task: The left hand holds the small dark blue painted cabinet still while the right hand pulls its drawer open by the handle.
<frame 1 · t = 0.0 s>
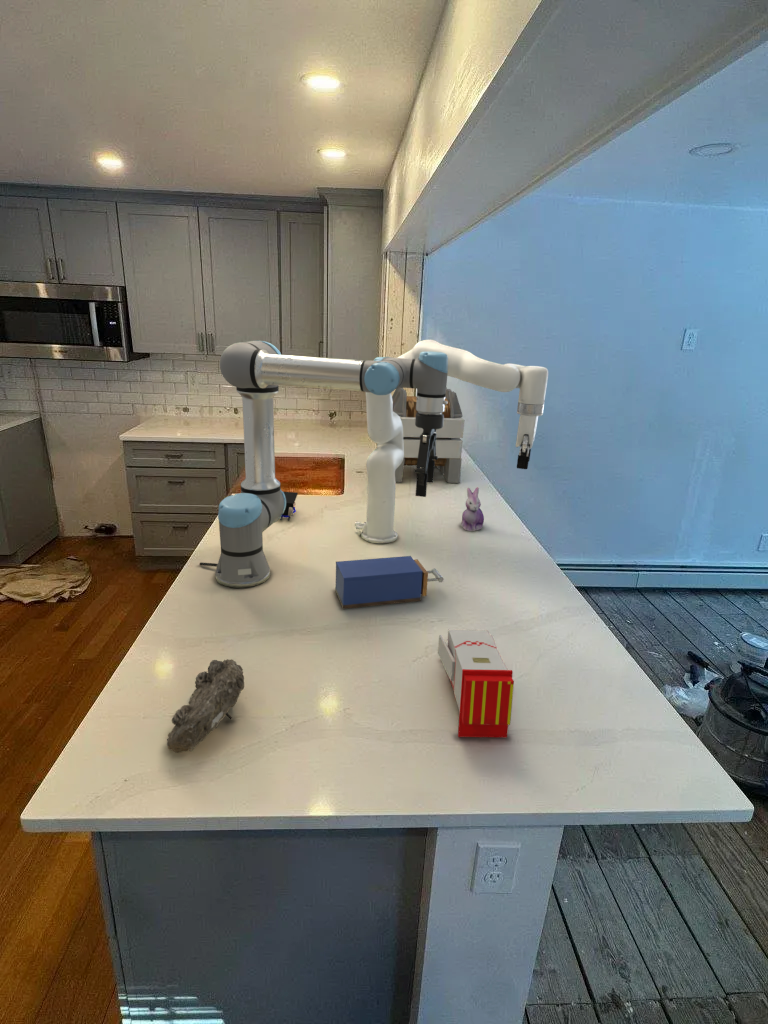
left hand: (424, 488, 157), 28 cm above the counter, tool pointing down, fingers open, 13 cm apart
right hand: (523, 464, 174), 31 cm above the counter, tool pointing down, fingers open, 9 cm apart
toy: (469, 691, 119), on the counter
figurine: (472, 527, 209), on the counter
fossil: (212, 717, 108), on the counter
drawer: (396, 579, 156), point 4 cm above the counter, slide at 0.7 cm
figurine character: (287, 516, 212), on the counter
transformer: (419, 473, 275), on the counter
cabinet: (377, 595, 156), on the counter
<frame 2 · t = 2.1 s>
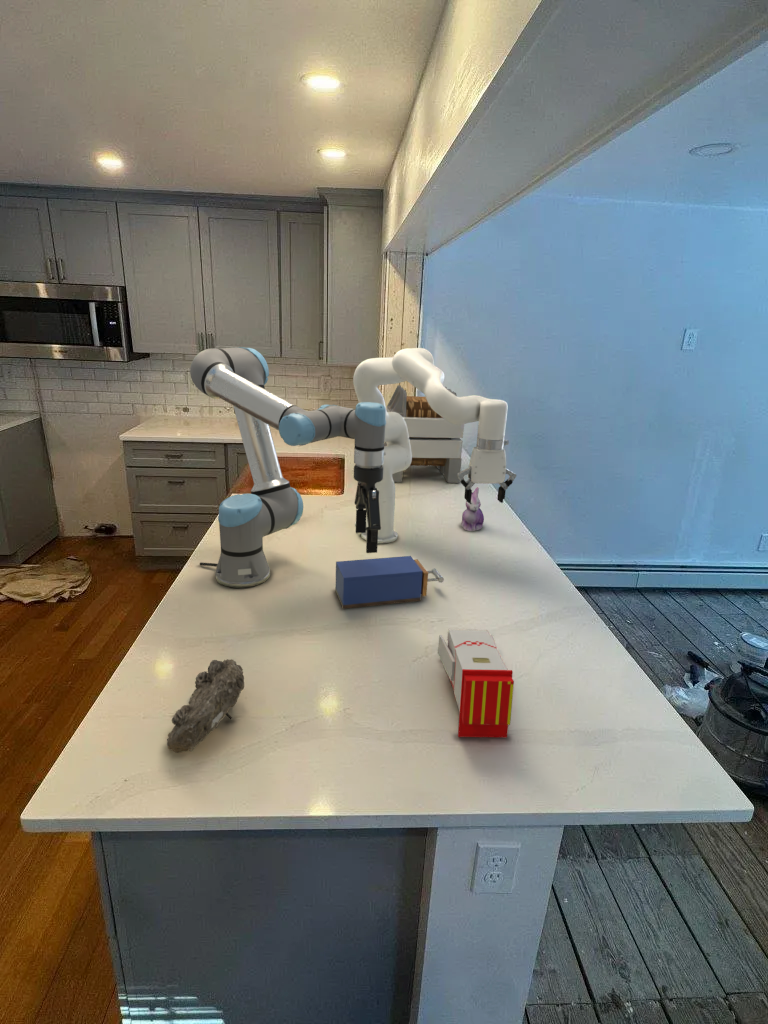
left hand: (365, 542, 151), 16 cm above the counter, tool pointing down, fingers open, 13 cm apart
right hand: (484, 501, 166), 23 cm above the counter, tool pointing down, fingers open, 9 cm apart
nothing on the counter moved.
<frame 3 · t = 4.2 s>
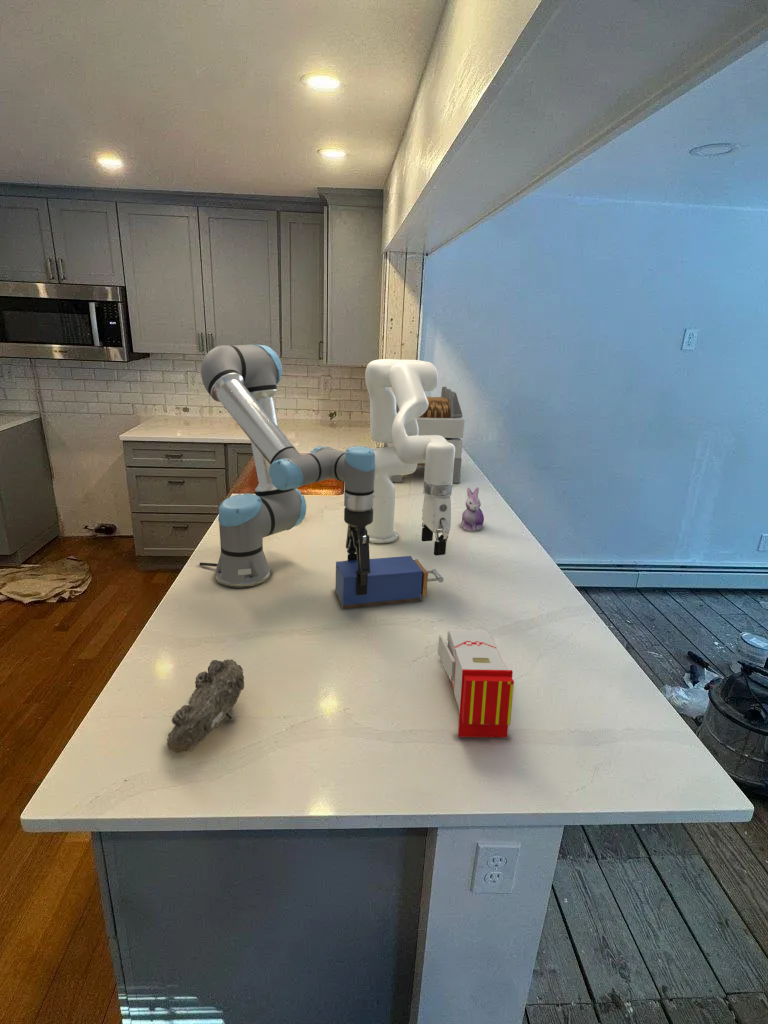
left hand: (356, 584, 153), 4 cm above the counter, tool pointing down, fingers closed on cabinet, 10 cm apart
right hand: (433, 547, 156), 13 cm above the counter, tool pointing down, fingers open, 9 cm apart
cabinet: (377, 595, 156), on the counter, touching left hand
everything else where it was.
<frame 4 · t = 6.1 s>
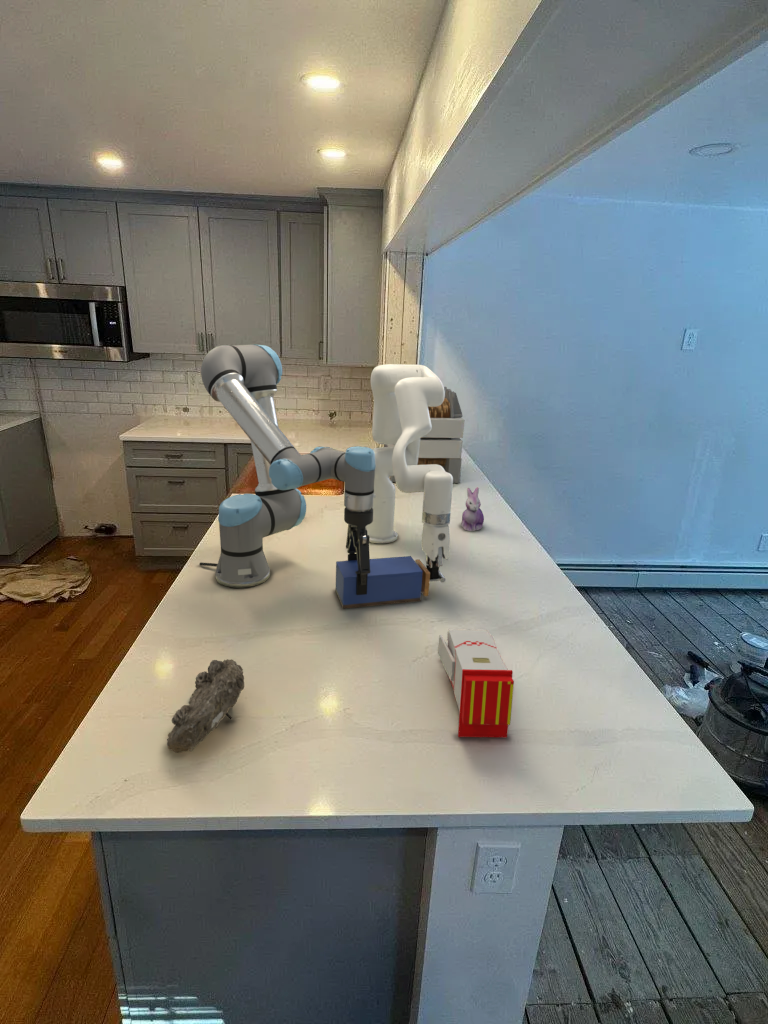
left hand: (356, 584, 153), 4 cm above the counter, tool pointing down, fingers closed on cabinet, 10 cm apart
right hand: (431, 578, 158), 4 cm above the counter, tool pointing down, fingers closed
drawer: (398, 579, 156), point 4 cm above the counter, slide at 1.2 cm, touching right hand
cabinet: (377, 595, 156), on the counter, touching left hand
everything else where it was.
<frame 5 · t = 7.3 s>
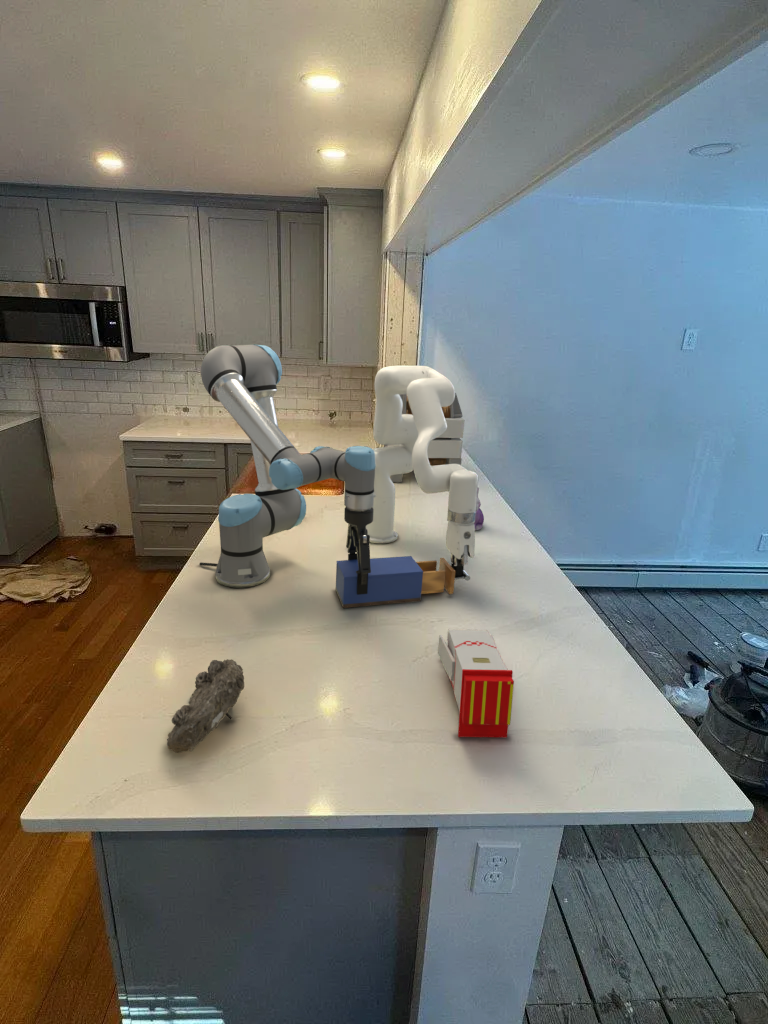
left hand: (357, 584, 153), 4 cm above the counter, tool pointing down, fingers closed on cabinet, 10 cm apart
right hand: (456, 576, 160), 4 cm above the counter, tool pointing down, fingers closed
drawer: (423, 577, 158), point 4 cm above the counter, slide at 8.6 cm, touching right hand
cabinet: (377, 595, 156), on the counter, touching left hand
everything else where it was.
when the left hand's fingers open (4 cm above the counter, at t = 9.0 s): cabinet stays where it is, on the counter.
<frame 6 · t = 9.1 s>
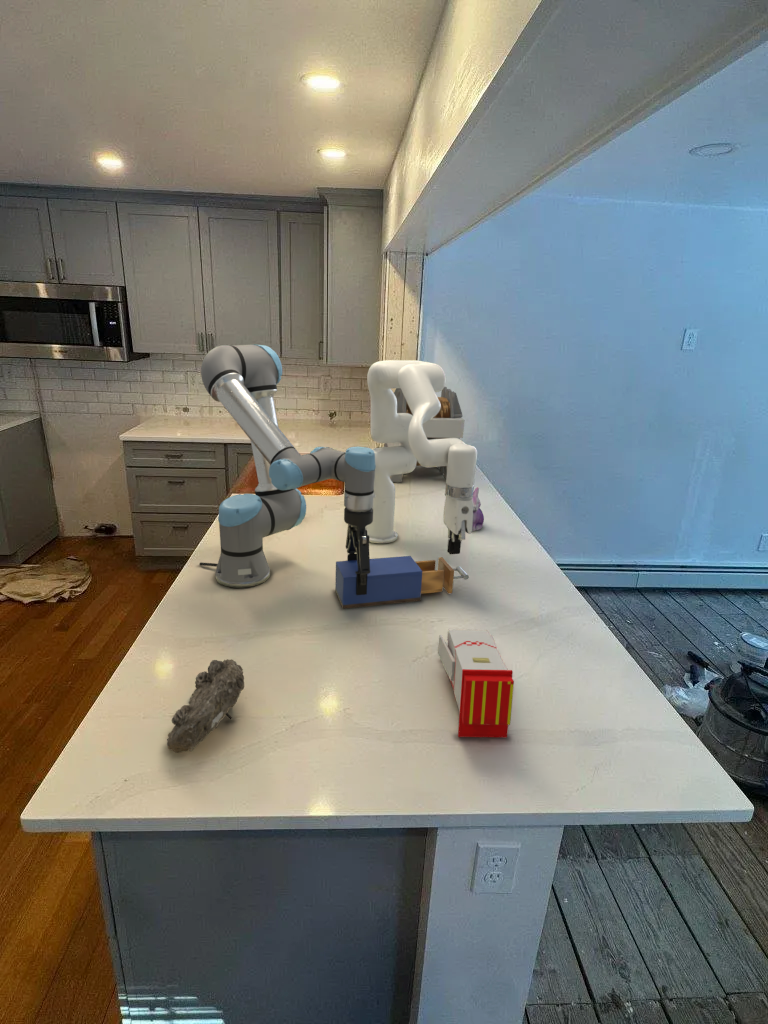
left hand: (356, 584, 153), 4 cm above the counter, tool pointing down, fingers open, 10 cm apart
right hand: (453, 552, 158), 11 cm above the counter, tool pointing down, fingers closed
drawer: (422, 577, 158), point 4 cm above the counter, slide at 8.3 cm
cabinet: (377, 595, 156), on the counter
everything else where it was.
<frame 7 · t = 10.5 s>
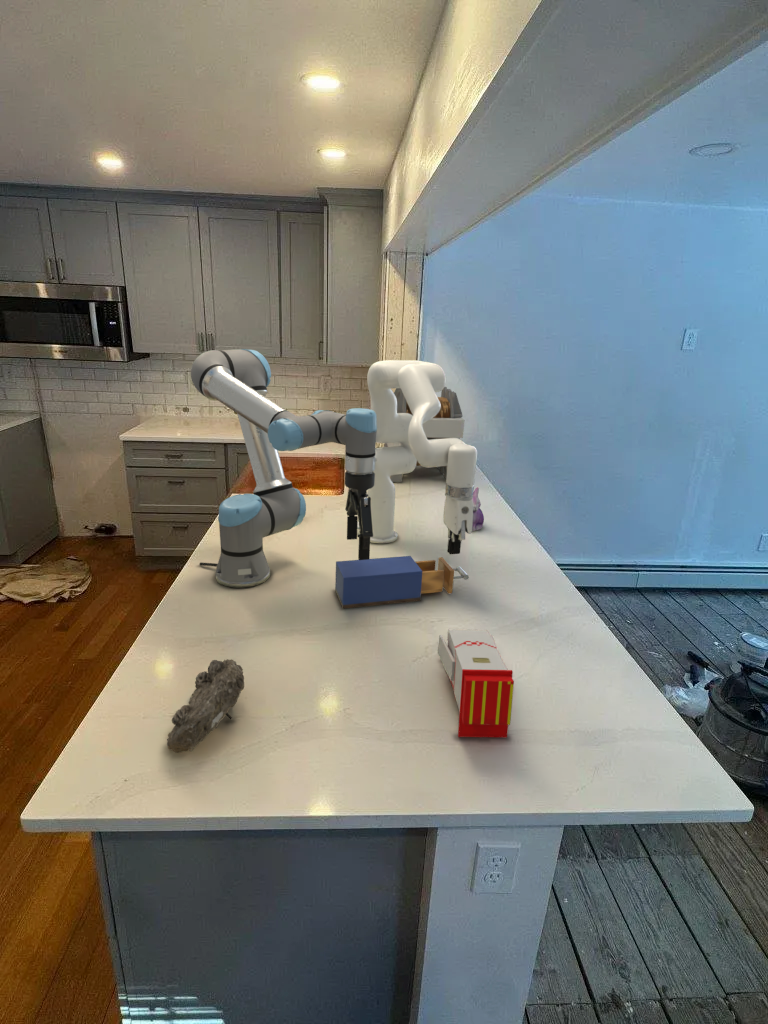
left hand: (357, 548, 150), 15 cm above the counter, tool pointing down, fingers open, 13 cm apart
right hand: (453, 552, 158), 11 cm above the counter, tool pointing down, fingers closed
nothing on the counter moved.
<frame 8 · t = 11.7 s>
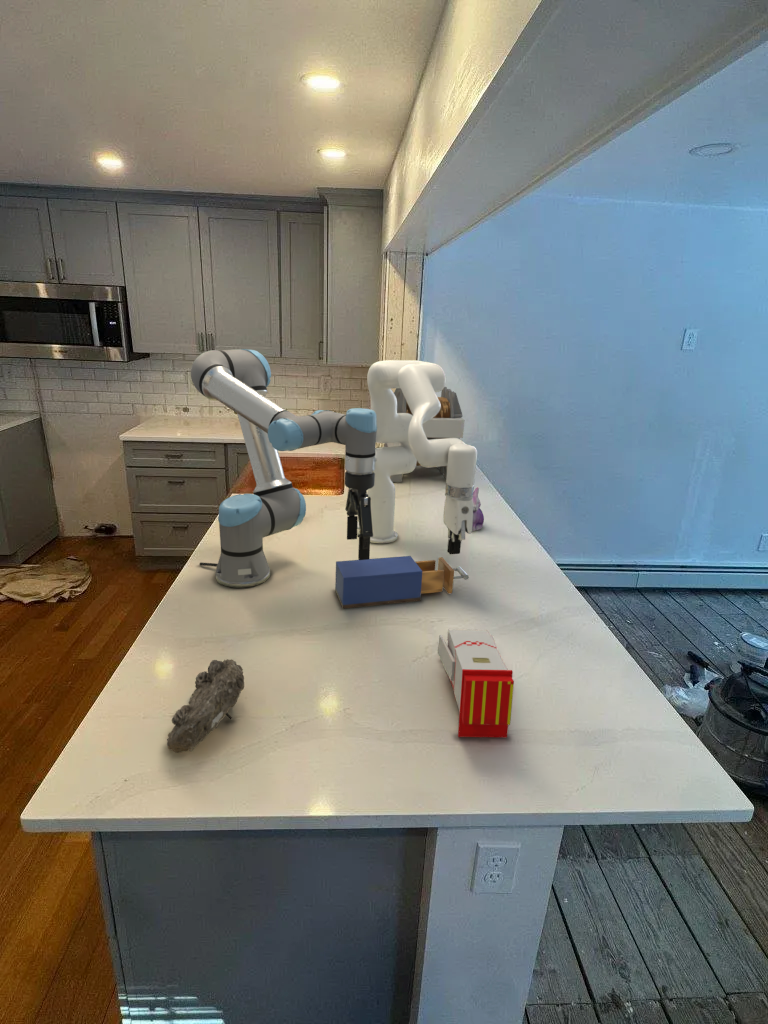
left hand: (357, 548, 150), 15 cm above the counter, tool pointing down, fingers open, 13 cm apart
right hand: (453, 552, 158), 11 cm above the counter, tool pointing down, fingers closed
nothing on the counter moved.
at the end: drawer slide at 8.3 cm; cabinet tilted 0°; cabinet never tilted more than 1° during the clip; cabinet moved 0.1 cm from its start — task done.
